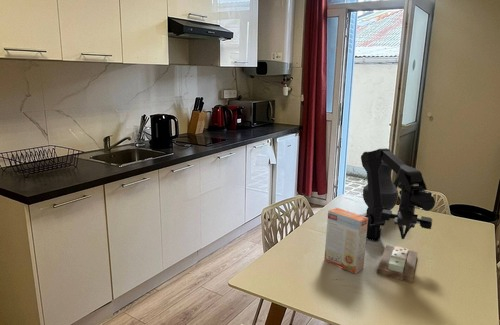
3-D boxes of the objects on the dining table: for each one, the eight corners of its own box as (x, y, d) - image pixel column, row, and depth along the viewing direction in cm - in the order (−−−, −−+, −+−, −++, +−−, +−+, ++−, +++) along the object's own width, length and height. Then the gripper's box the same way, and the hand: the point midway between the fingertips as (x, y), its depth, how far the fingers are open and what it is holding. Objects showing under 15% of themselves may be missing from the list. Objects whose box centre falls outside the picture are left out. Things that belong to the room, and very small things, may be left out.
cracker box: (363, 269, 137) (369, 217, 132) (354, 274, 133) (360, 221, 128) (332, 255, 147) (336, 206, 142) (323, 259, 143) (327, 209, 138)
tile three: (392, 256, 145) (393, 250, 145) (394, 251, 150) (395, 245, 149) (406, 259, 143) (407, 253, 143) (407, 254, 147) (408, 248, 147)
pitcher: (355, 209, 198) (360, 156, 191) (388, 207, 203) (394, 155, 196) (372, 221, 182) (379, 163, 175) (408, 219, 187) (416, 162, 180)
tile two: (390, 261, 139) (391, 255, 139) (392, 256, 143) (393, 249, 143) (404, 264, 137) (405, 258, 136) (406, 259, 141) (406, 252, 141)
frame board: (376, 273, 134) (377, 268, 133) (385, 249, 153) (386, 245, 152) (412, 282, 128) (412, 277, 128) (416, 256, 147) (417, 252, 147)
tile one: (388, 269, 133) (388, 262, 132) (389, 263, 137) (390, 257, 137) (402, 273, 131) (403, 266, 130) (404, 267, 135) (405, 260, 135)
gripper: (379, 203, 138) (375, 241, 142) (433, 212, 130) (427, 252, 133) (383, 195, 148) (379, 231, 151) (434, 203, 139) (429, 241, 143)
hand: (402, 238), depth 145 cm, fingers closed
